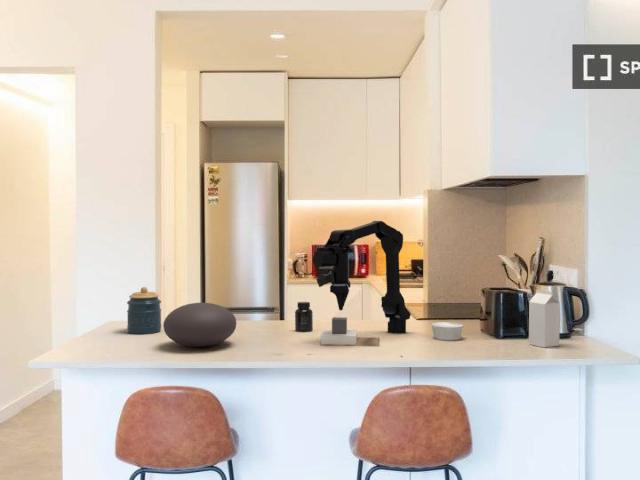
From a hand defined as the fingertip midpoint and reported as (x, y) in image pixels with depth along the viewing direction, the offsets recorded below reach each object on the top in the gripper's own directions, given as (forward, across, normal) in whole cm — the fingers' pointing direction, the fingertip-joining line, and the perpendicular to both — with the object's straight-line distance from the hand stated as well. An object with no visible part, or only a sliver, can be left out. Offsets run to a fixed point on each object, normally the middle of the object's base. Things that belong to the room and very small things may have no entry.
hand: (340, 310), depth 212 cm
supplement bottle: (+12, -19, -16) cm, 28 cm away
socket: (+11, +1, 0) cm, 11 cm away
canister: (+12, -18, -78) cm, 81 cm away
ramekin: (+12, -13, +38) cm, 43 cm away
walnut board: (+12, +1, +4) cm, 12 cm away
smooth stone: (+12, +8, -48) cm, 51 cm away
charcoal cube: (+10, 0, 0) cm, 10 cm away
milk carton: (+12, -3, +70) cm, 72 cm away
